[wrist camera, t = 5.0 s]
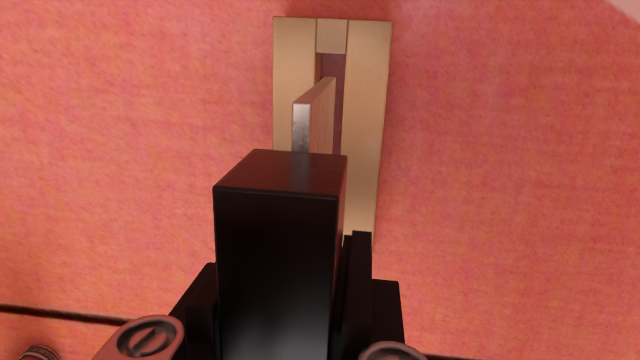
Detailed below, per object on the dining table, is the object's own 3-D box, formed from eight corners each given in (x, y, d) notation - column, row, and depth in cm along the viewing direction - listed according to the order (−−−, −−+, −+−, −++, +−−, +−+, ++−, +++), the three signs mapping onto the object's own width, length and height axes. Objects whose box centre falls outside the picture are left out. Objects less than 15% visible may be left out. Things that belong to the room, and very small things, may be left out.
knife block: (284, 19, 21) (272, 15, 18) (389, 23, 21) (393, 20, 18) (282, 256, 26) (271, 283, 23) (368, 264, 25) (368, 292, 23)
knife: (300, 75, 14) (207, 121, 6) (360, 78, 14) (344, 131, 6) (294, 320, 17) (229, 558, 9) (342, 325, 17) (316, 574, 9)
